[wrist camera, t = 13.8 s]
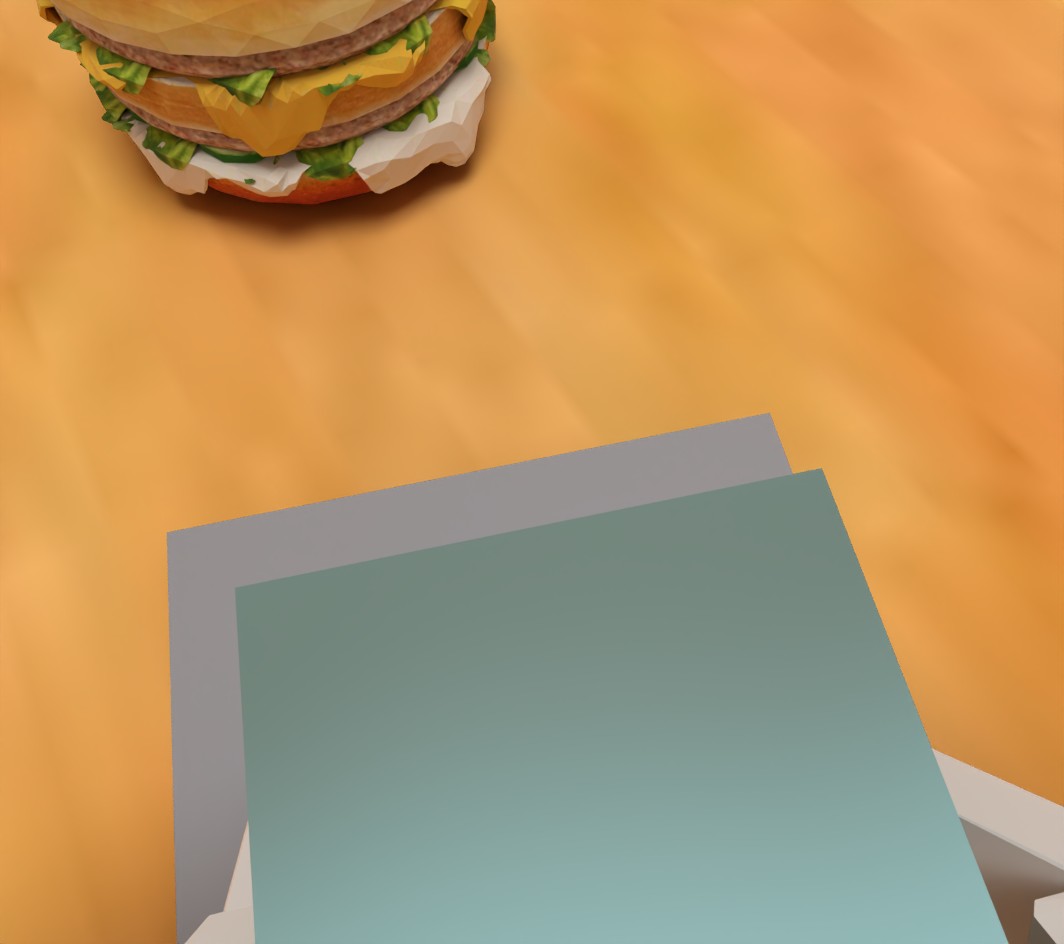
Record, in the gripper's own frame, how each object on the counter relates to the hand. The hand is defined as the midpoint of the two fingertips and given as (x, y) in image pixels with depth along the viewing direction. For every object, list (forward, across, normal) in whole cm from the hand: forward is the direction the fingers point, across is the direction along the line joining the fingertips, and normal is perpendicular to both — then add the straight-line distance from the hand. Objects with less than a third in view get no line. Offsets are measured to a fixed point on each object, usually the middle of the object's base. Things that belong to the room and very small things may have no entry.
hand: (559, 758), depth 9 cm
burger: (+23, +3, -10) cm, 25 cm away
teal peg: (+4, 0, +5) cm, 6 cm away
